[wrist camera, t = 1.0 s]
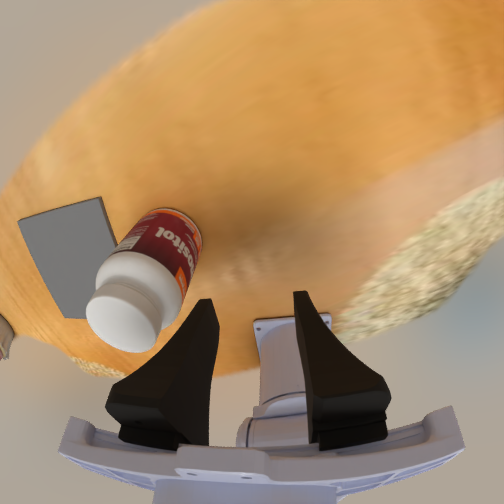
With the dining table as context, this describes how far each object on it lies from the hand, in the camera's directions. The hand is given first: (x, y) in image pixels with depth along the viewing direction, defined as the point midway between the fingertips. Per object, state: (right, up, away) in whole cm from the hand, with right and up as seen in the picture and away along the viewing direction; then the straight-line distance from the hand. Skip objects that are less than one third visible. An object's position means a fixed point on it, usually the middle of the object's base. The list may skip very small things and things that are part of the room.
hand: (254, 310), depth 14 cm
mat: (-19, +1, +12) cm, 23 cm away
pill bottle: (-7, +4, +10) cm, 13 cm away
